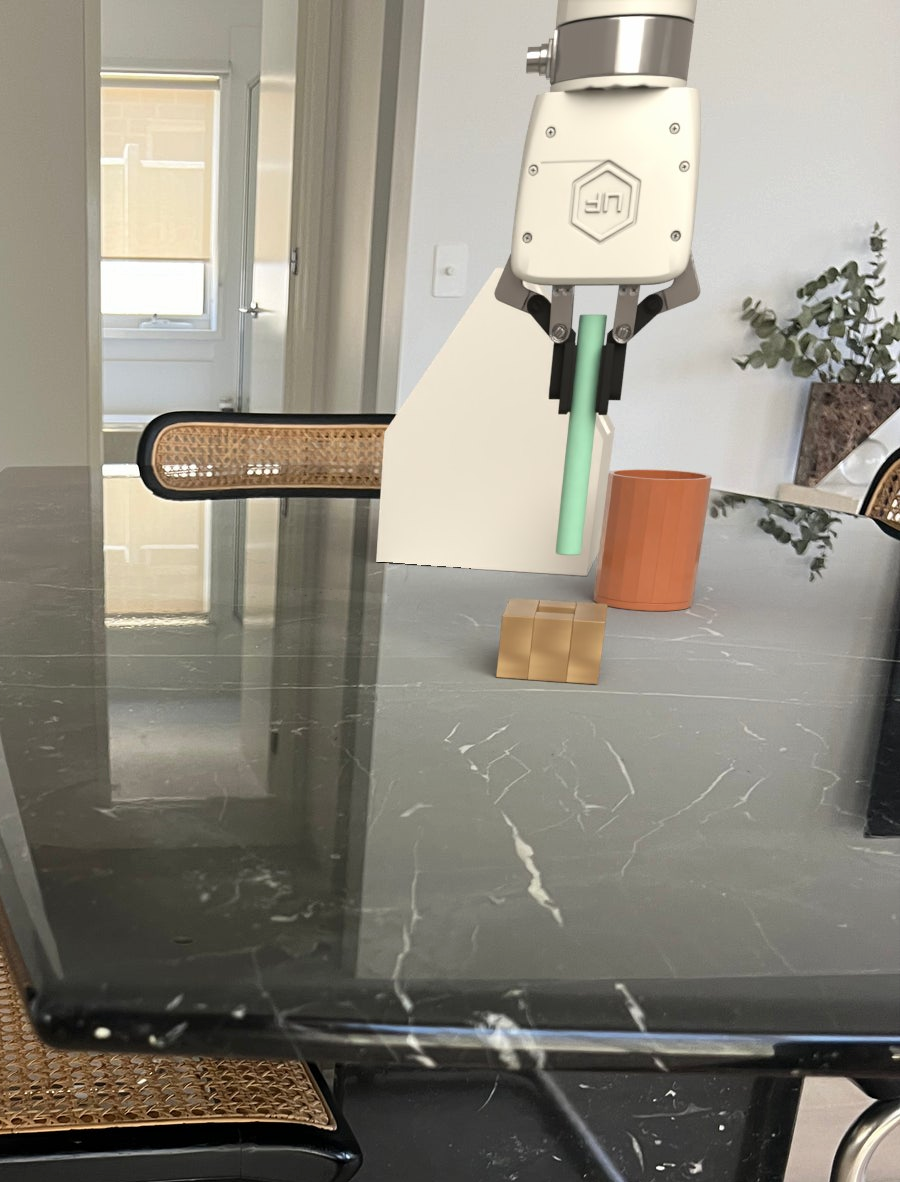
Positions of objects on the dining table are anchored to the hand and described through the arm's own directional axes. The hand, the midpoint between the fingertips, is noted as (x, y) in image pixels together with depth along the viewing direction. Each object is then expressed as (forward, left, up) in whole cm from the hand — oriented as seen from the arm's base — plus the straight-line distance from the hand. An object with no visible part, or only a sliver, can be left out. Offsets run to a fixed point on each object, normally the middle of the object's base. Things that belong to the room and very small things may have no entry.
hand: (583, 411), depth 90 cm
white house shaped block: (+8, -48, -16) cm, 51 cm away
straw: (0, 0, -9) cm, 9 cm away
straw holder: (0, 0, -16) cm, 16 cm away
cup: (-6, -28, -16) cm, 33 cm away
